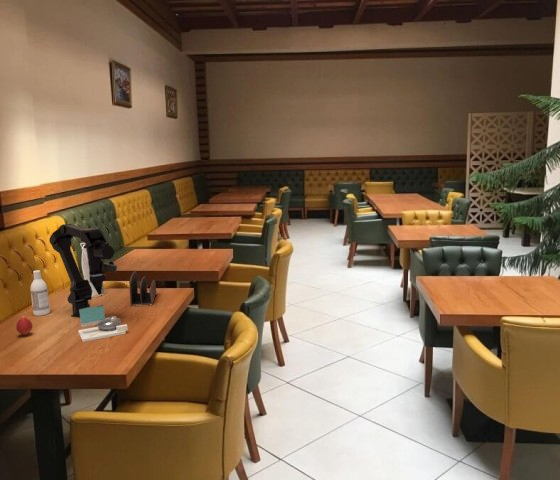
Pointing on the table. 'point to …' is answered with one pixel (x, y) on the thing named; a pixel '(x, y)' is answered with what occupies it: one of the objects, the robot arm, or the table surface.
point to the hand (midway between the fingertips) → (99, 294)
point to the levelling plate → (101, 333)
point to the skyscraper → (86, 271)
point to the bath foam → (39, 295)
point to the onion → (24, 326)
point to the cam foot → (98, 318)
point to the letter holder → (141, 291)
